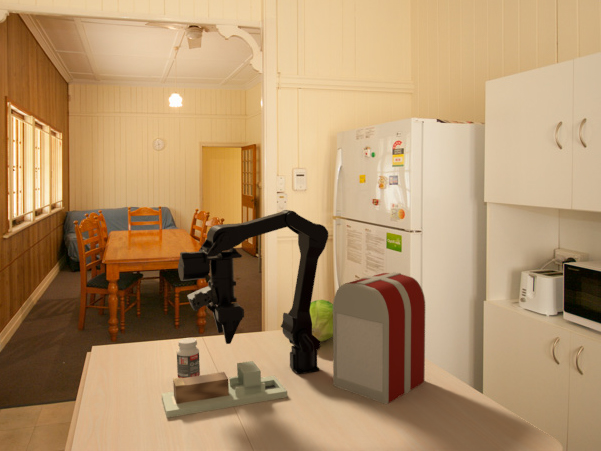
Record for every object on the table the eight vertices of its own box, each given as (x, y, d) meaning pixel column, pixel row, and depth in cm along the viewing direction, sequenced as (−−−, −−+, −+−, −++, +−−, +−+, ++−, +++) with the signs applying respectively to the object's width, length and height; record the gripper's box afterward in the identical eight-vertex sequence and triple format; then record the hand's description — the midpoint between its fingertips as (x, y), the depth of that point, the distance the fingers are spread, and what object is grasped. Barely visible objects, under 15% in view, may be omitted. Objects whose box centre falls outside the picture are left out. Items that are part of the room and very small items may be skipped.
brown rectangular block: (224, 387, 128) (224, 371, 128) (228, 395, 124) (228, 378, 124) (173, 396, 124) (173, 378, 124) (176, 404, 120) (175, 386, 120)
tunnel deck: (274, 381, 136) (274, 355, 135) (287, 397, 126) (287, 369, 126) (161, 399, 126) (160, 371, 125) (166, 417, 117) (165, 388, 116)
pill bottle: (194, 382, 136) (193, 344, 135) (174, 381, 137) (172, 343, 136) (203, 373, 141) (201, 337, 140) (183, 372, 143) (181, 336, 141)
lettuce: (291, 352, 157) (290, 313, 156) (304, 328, 179) (303, 294, 178) (335, 354, 155) (334, 315, 153) (342, 330, 177) (342, 295, 176)
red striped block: (426, 381, 135) (427, 276, 132) (387, 404, 122) (387, 288, 119) (372, 365, 146) (372, 268, 143) (331, 385, 133) (330, 278, 130)
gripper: (183, 272, 137) (186, 331, 139) (195, 287, 120) (198, 354, 122) (226, 268, 141) (228, 326, 143) (243, 283, 124) (245, 348, 125)
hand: (224, 338), depth 133 cm, fingers open, 9 cm apart
